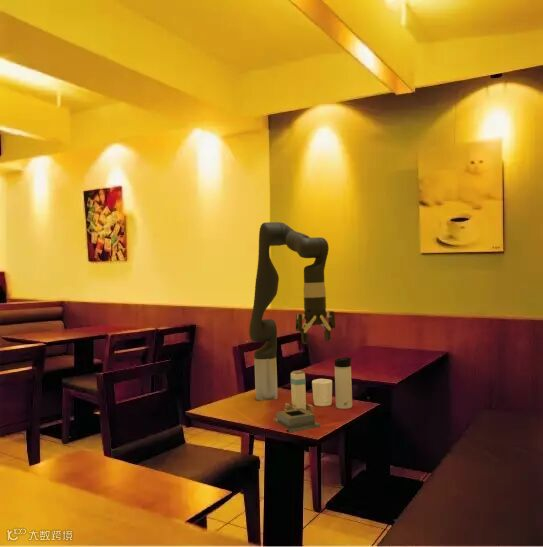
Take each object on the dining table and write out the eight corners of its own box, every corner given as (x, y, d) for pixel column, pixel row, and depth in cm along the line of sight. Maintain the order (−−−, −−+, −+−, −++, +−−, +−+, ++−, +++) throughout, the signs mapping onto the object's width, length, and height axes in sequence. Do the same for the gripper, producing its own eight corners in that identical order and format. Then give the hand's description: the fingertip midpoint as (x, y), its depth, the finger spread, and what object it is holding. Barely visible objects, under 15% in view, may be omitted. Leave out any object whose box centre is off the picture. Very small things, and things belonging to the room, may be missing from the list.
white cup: (332, 403, 222) (332, 378, 221) (333, 409, 214) (332, 383, 213) (313, 403, 222) (312, 379, 222) (312, 409, 214) (311, 383, 214)
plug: (291, 409, 211) (290, 371, 211) (301, 407, 213) (300, 370, 213) (296, 412, 208) (295, 373, 207) (306, 410, 209) (305, 371, 209)
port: (271, 422, 199) (271, 411, 199) (301, 417, 204) (301, 406, 204) (289, 432, 186) (288, 420, 186) (320, 427, 191) (320, 415, 191)
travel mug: (349, 412, 208) (347, 359, 208) (333, 410, 212) (331, 358, 211) (355, 408, 214) (354, 356, 213) (339, 406, 217) (338, 355, 217)
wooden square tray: (283, 411, 213) (283, 403, 212) (304, 408, 216) (303, 400, 216) (293, 417, 204) (293, 409, 204) (315, 413, 208) (314, 405, 208)
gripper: (327, 293, 197) (328, 339, 198) (291, 296, 192) (292, 343, 192) (338, 294, 191) (339, 341, 191) (301, 297, 185) (302, 345, 185)
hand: (316, 342), depth 192 cm, fingers open, 8 cm apart
